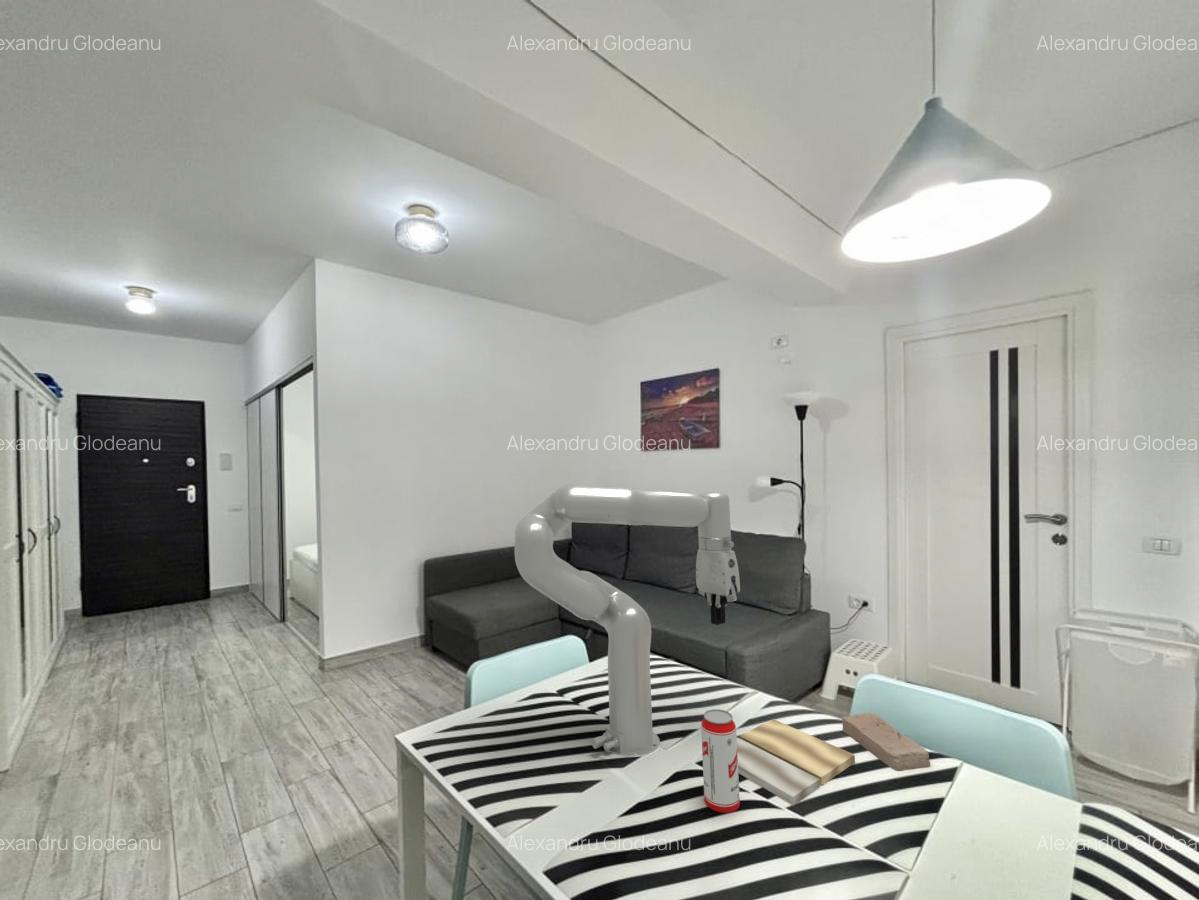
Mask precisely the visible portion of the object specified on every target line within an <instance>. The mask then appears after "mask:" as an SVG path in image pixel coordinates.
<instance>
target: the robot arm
mask: <svg viewBox="0 0 1199 900" xmlns="http://www.w3.org/2000/svg"><path fill="white" fill-rule="evenodd" d="M571 523H581V524H582V523H585V524H608V525H609V524H610V525H612V524H613V525H627V526H628V525H629V526H644V525H645V526H662V527H677V528H680V527H681V528H694V527H695V528H696V527H697V533H698V534H697V537H698V549H697V551H696V552H697V553H696V559H695V583H696V584H695V585H696V588H697V589H698V594H699V595H700V596H703V597H704V598H705V599H706V601H707V605H708V607H710V623H711V625H715V626H719V625H723V624H726V607H727V606H728V604H729V603H730V602H731V603H733V602H735V601H737V599H738V597H737V594H738V593H740V592H741V582H740V581H741V579H740V572H739V565H738V559H737V557H736V553H735V550H732V548H734V546H735V543H734V541H732V535H731V534H732V533H731V531H732V530H731V529H732V528H731V511H730V496H729V495H728V494H727V493H726V492H721V491H720V492H719V491H717V492H715V491H713V492H709V491H708V492H702V493H701V492H700V493H694V492H673V491H672V492H671V491H670V492H669V491H656V490H645V489H642V488H635V487H634V488H633V487H628V486H627V487H626V486H606V485H605V486H604V485H590V484H588V485H587V484H565V485H563V486H560V487H559V488H558V489H556V490H555V491H554V492H552V494H550V495H549V496H548V497H547V498H546V499H544V500H543V501H542V502H541V503H540V504H538V505H537V506H536V507H535V508H533V509H532V510H531V511H530V512H529V513H527V514H526V515H525V516H524V517H522V518H521V519H520V520H519V521H518V523H517V524H516V526H515V530H514V561H515V565H516V567H517V571H518V572H519V575H520V577H521V578H522V579H523V580H524V581H525V582H526V583H527V584H528V585H529V586H530V587H532V588H533V589H535V590H536V591H538V592H539V593H541V594H543V595H544V596H545V597H547V598H549V599H550V600H551V601H553V602H555V603H556V604H558V605H559V606H561V607H562V608H564V609H565V610H567V611H568V612H570V613H572V614H573V615H574V616H576V617H577V618H579V619H581V620H585V621H592V622H595V623H597V624H598V625H599V626H601V627H603V628H605V631H606V633H607V634H608V635H607V637H608V645H607V646H608V647H607V649H608V650H607V679H608V684H607V685H608V709H609V710H608V711H609V725H607V726H605V732H603V734H602V735H600V736H597V737H594V738H592V739H591V746H592V747H593V748H594V749H595V750H596V749H598V748H601V747H603V749H604V751H605V752H606V753H613V754H614V755H616V756H620V757H626V758H636V757H637V758H638V757H642V756H646V755H650V754H652V753H653V752H655V751H656V750H657V749H658V747H660V744H661V741H660V738H659V736H658V735H657V734H656V733H655V732H654V730H653V713H652V710H653V707H652V706H653V705H652V687H651V686H652V682H651V680H652V679H651V678H652V677H651V661H650V660H651V643H652V624H651V623H652V622H651V619H650V617H649V615H648V613H647V612H646V610H645V609H644V608H643V607H642V606H641V605H640V604H639V603H638V602H637V601H636V600H634V599H633V598H632V597H631V596H630V595H628V594H627V593H625V592H623V591H622V590H620V589H619V588H617V587H615V586H613V585H612V584H611V583H609V582H608V581H605V580H604V579H602V578H601V577H600V576H598V575H596V574H594V573H593V572H590V571H587V570H579V569H577V568H576V567H574V566H573V565H571V564H570V563H569V562H567V561H566V560H564V559H562V558H560V557H559V556H558V555H557V554H556V553H555V551H554V546H553V545H554V539H555V537H556V536H558V535H559V534H560V533H561V532H562V531H564V529H566V528H567V527H568V526H569V525H571Z"/></svg>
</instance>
